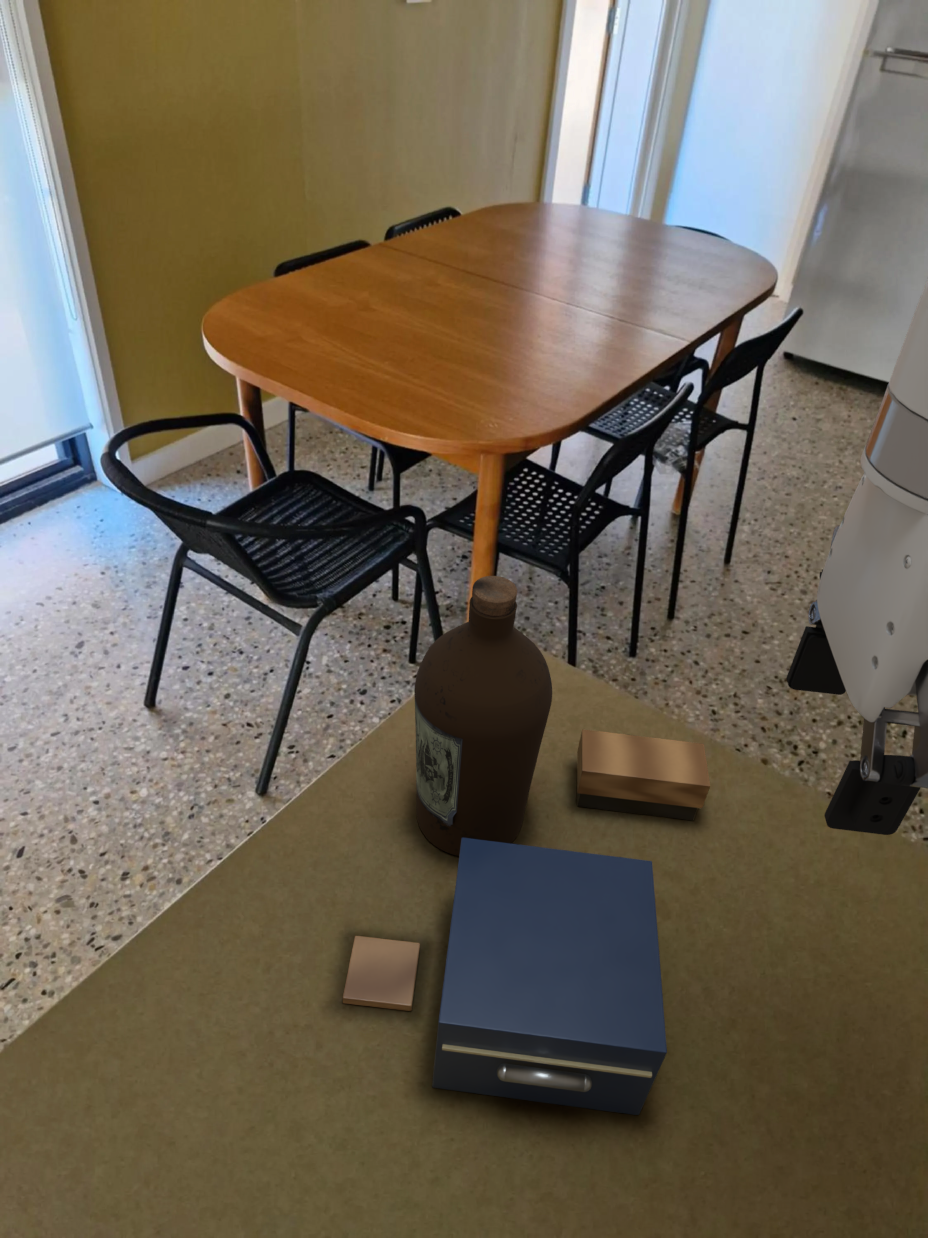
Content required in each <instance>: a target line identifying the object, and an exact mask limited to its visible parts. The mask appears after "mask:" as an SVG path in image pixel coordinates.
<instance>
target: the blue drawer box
mask: <svg viewBox="0 0 928 1238" xmlns="http://www.w3.org/2000/svg"><path fill="white" fill-rule="evenodd" d="M653 868H654V867H653V861H652V860H646V859H640V858H639V859H638V858H631V857H624V856H623V857H621V856H615V855H607V854H606V855H605V854H599V853H598V854H597V853H591V852H583V851H574V850H566V849H559V848H558V849H557V848H551V847H542V846H535V845H526V844H519V843H503V842H495V841H487V840H479V839H471V838H461V846H460V854H459V856H458V864H457V871H456V879H455V885H454V886H455V887H454V888H455V889H454V895H453V903H452V909H451V917H450V918H451V920H450V927H449V935H448V943H447V949H446V950H447V951H446V960H445V966H444V976H443V982H442V990H441V998H440V1006H439V1012H438V1013H439V1015H438V1022H437V1033H436V1040H435V1041H436V1042H435V1052H434V1062H433V1063H434V1064H433V1072H432V1083H431V1087H432V1089H433V1088H434V1089H441V1090H447V1091H448V1090H449V1091H455V1092H463V1093H470V1094H476V1095H477V1094H478V1095H485V1096H493V1097H499V1098H500V1097H501V1098H508V1099H515V1100H522V1101H529V1102H537V1103H543V1104H544V1103H545V1104H552V1105H559V1106H567V1107H574V1108H582V1109H588V1110H595V1111H604V1112H612V1113H618V1114H624V1115H625V1114H627V1115H634V1116H639V1115H640V1113H641V1111H642V1110H643V1107H644V1105H645V1102H646V1100H647V1098H648V1096H649V1093H650V1092H651V1089H652V1087H653V1085H654V1082H655V1080H656V1078H657V1076H658V1074H659V1071H660V1069H661V1067H662V1065H663V1062H664V1060H665V1057H666V1056H667V1054H668V1049H667V1048H668V1047H667V1035H666V1020H665V1008H664V995H663V983H662V972H661V971H662V969H661V959H660V958H661V957H660V945H659V933H658V921H657V920H658V919H657V905H656V895H655V894H656V893H655V892H656V891H655V881H654V880H655V879H654V869H653Z"/></svg>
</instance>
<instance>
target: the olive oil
mask: <svg viewBox="0 0 928 1238" xmlns="http://www.w3.org/2000/svg"><path fill="white" fill-rule="evenodd" d="M517 596H518V588H517V586H516V584H515V583H514V582H513V581H512V580H510V579H508V578H506V577H504V576H500V575H499V576H498V575H487V576H482V577H480V578H478V579H476V580H475V581H474V583H473V585H472V589H471V597H470V599H469V601H468V602H469V607H468V621H467V622H464V623H461V624H460V625H457V626H456V627H454V628H452V629H450V630H448V631H446V632H445V633H443V634H442V635H440V636H439V637H438V638H437V639H435V641H433V643H432V644H431V645H430V646H429V648H428V649H427V651H426V652H425V654H424V656H423V657H422V660H421V662H420V665H419V666H418V670H417V673H416V676H415V682H414V695H413V696H414V723H415V767H416V768H415V773H416V774H415V775H416V776H415V778H416V779H415V782H416V783H415V786H416V788H415V789H416V791H415V792H416V797H415V798H416V799H415V801H416V802H415V804H416V805H415V813H416V820H417V823H418V827H419V829H420V831H421V832H422V834H423V835H424V837H425V838H426V839H427V840H428V841H429V842H430V843H431V844H432V845H433V846H434V847H436V848H438V849H439V850H440V851H443V852H445V853H448V854H450V855H453V856H456V857H459V854H460V846H461V838H471V839H479V840H487V841H495V842H503V843H511V844H513V842H514V841H515V840H516V838H517V837H518V835H519V833H520V831H521V829H522V826H523V821H524V817H525V813H526V808H527V804H528V800H529V794H530V790H531V786H532V781H533V777H534V774H535V769H536V765H537V761H538V757H539V753H540V748H541V745H542V741H543V738H544V734H545V731H546V727H547V723H548V720H549V715H550V712H551V708H552V707H551V706H552V702H553V683H552V682H553V681H552V677H551V672H550V667H549V665H548V662H547V660H546V658H545V656H544V655H543V653H542V651H541V650H540V648H538V646H537V645H536V644H535V643H534V642H533V641H532V640H531V639H530V638H529V637H528V636H527V635H525V634H524V633H523V632H521V631H520V630H519V629H518V628H516V626H515V621H516V615H517V609H518V605H517Z"/></svg>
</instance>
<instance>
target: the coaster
mask: <svg viewBox="0 0 928 1238" xmlns="http://www.w3.org/2000/svg"><path fill="white" fill-rule="evenodd" d="M420 951H421V943H420V942H415V941H405V940H397V939H388V938H379V937H371V936H362V935H354V939H353V943H352V949H351V954H350V959H349V964H348V969H347V974H346V978H345V984H344V989H343V994H342V1004H348V1005H356V1006H364V1007H373V1008H382V1009H390V1010H398V1011H406V1012H411V1011H412V1010H413V1001H414V996H415V987H416V979H417V975H418V974H417V973H418V966H419V965H418V964H419V959H420V958H419V957H420Z"/></svg>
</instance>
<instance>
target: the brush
mask: <svg viewBox="0 0 928 1238" xmlns="http://www.w3.org/2000/svg"><path fill="white" fill-rule="evenodd" d="M576 752H577V753H576V761H577V762H576V769H577V770H576V774H577V775H576V776H577V777H576V780H577V781H576V786H577V787H576V793H577V794H576V795H577V797H576V799H577V800H576V803H577V804H576V805H577V807H581V808H587V809H588V808H589V809H595V810H604V811H612V812H621V813H629V814H637V815H645V816H653V817H660V818H669V819H677V820H678V819H679V820H685V821H694V820H695V817H696V815H697V811H698V809H703V807H704V805H705V801H706V799H707V796H708V794H709V791H710V788H711V781H710V775H709V768H708V762H707V755H706V749H705V743H701V742H693V741H684V740H675V739H668V738H659V737H651V736H644V735H643V736H642V735H635V734H634V735H633V734H625V733H617V732H608V731H602V730H592V729H585V728H584V729H581V733H580V738H579V742H578V747H577V751H576Z"/></svg>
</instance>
